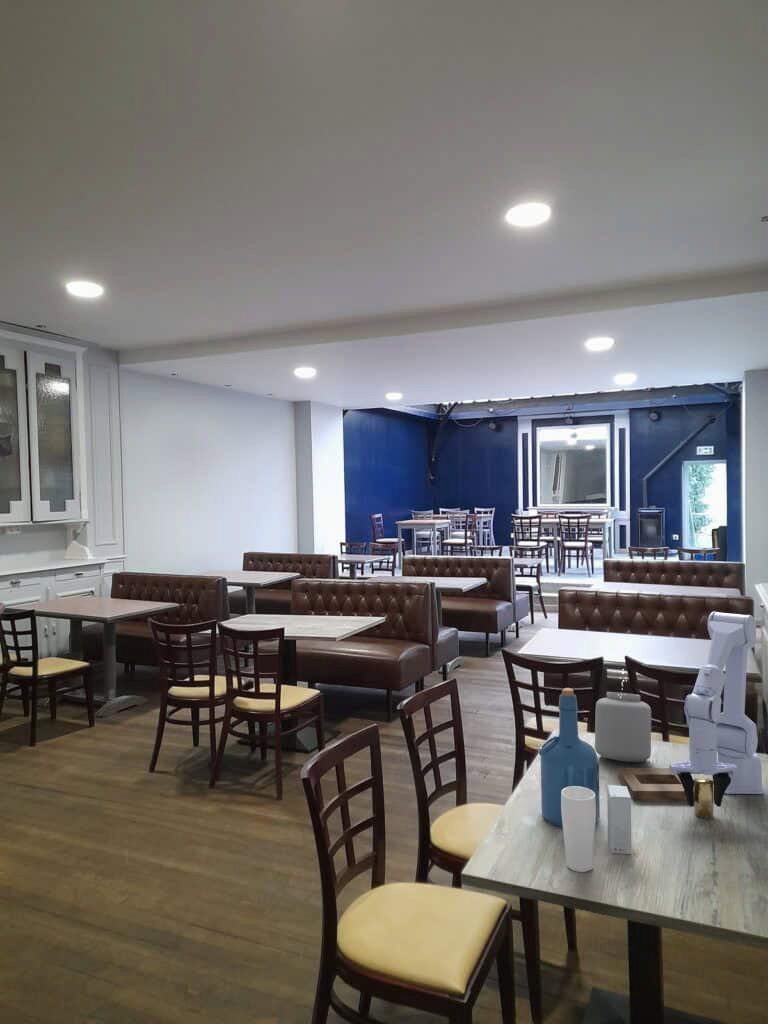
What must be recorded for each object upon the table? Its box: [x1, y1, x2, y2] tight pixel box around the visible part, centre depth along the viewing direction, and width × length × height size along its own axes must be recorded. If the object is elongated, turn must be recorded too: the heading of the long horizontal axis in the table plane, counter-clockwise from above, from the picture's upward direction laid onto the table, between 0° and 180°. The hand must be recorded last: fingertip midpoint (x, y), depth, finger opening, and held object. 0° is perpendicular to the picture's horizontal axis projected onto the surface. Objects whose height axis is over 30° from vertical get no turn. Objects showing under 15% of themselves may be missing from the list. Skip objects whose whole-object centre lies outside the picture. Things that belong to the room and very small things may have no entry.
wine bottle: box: [537, 687, 601, 829], centre depth 159 cm, size 14×13×30 cm
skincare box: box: [606, 784, 632, 855], centre depth 146 cm, size 6×4×12 cm
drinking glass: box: [561, 786, 597, 873], centre depth 138 cm, size 7×7×15 cm
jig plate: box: [617, 767, 694, 802], centre depth 173 cm, size 16×14×2 cm
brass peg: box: [693, 776, 714, 820], centre depth 159 cm, size 4×4×8 cm
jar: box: [594, 668, 652, 763], centre depth 193 cm, size 19×15×25 cm
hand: (703, 804), depth 159 cm, fingers open, 5 cm apart
